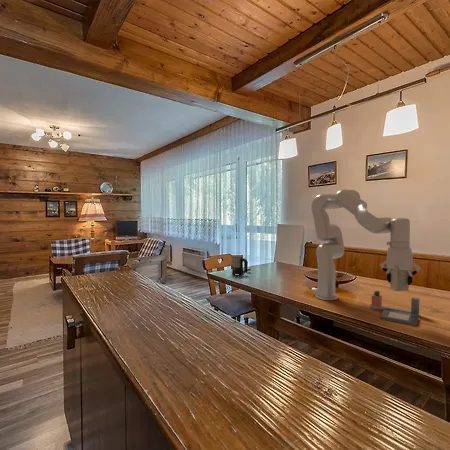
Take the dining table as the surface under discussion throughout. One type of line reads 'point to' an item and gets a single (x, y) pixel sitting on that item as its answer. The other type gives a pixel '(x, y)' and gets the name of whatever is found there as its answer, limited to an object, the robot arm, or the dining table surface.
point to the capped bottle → (376, 299)
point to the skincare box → (399, 279)
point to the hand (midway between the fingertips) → (399, 283)
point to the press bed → (399, 317)
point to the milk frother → (239, 265)
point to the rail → (414, 309)
